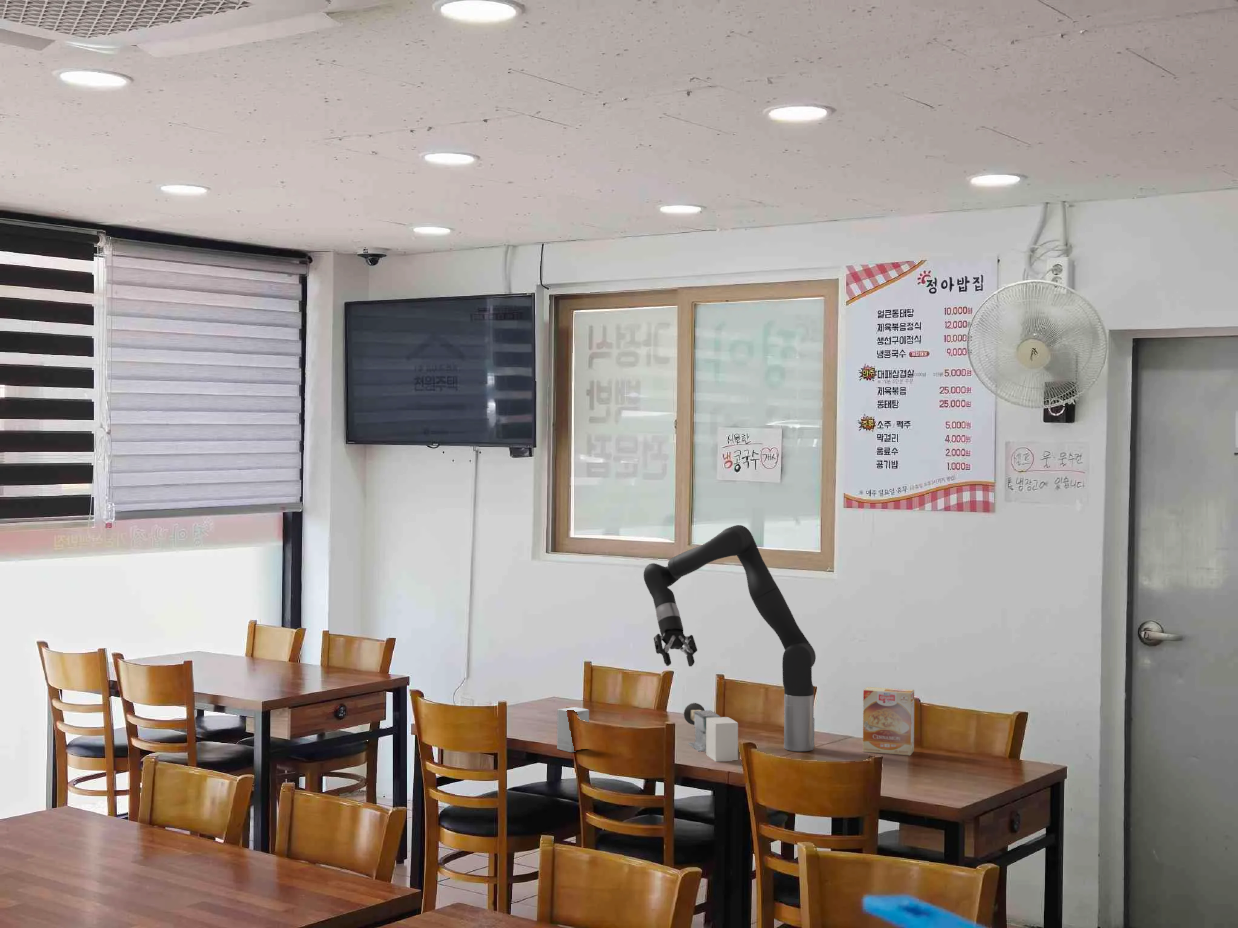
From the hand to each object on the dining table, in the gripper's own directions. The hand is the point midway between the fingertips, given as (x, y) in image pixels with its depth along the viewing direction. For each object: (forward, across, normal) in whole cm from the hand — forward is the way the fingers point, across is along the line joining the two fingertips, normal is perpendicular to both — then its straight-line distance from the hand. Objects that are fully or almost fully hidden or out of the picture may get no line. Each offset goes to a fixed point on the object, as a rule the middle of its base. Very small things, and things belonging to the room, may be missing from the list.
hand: (680, 665), depth 440 cm
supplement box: (+19, -32, +22) cm, 43 cm away
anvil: (+25, +7, +6) cm, 27 cm away
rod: (+20, +8, +7) cm, 22 cm away
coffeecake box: (+40, +54, -22) cm, 70 cm away
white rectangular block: (+34, +2, -6) cm, 35 cm away
